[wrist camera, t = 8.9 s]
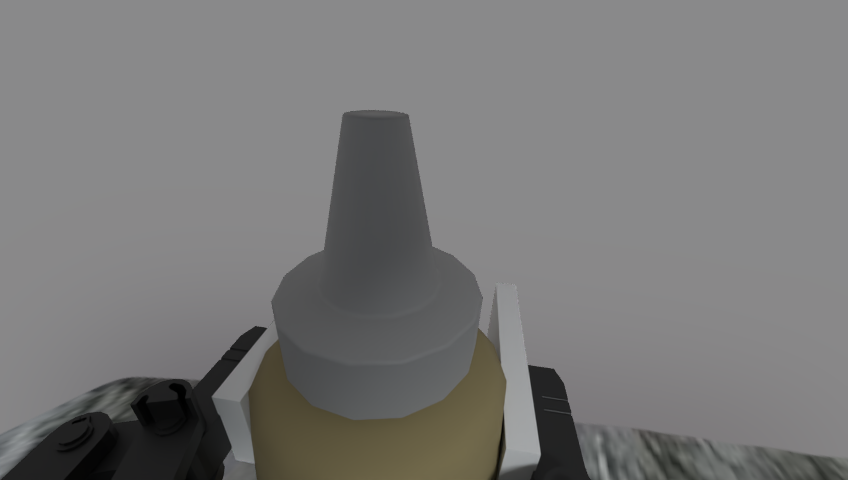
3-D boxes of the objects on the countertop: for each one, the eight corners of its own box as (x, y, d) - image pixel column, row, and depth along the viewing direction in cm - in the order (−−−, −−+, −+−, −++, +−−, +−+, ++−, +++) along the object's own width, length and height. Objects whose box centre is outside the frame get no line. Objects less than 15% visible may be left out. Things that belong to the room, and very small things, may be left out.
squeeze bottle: (239, 611, 13) (-50, 113, 5) (369, 433, 19) (349, 88, 11) (424, 814, 10) (629, 355, 1) (507, 519, 16) (634, 115, 7)
